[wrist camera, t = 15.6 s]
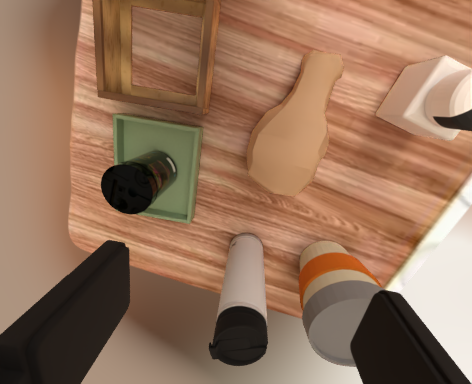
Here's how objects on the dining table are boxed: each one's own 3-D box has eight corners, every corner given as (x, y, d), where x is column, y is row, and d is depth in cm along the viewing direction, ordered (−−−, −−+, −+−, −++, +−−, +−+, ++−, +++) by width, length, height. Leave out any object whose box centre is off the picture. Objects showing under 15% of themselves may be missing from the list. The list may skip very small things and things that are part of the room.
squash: (239, 177, 39) (227, 184, 30) (283, 54, 34) (284, 20, 26) (300, 200, 38) (305, 214, 29) (354, 75, 33) (380, 48, 24)
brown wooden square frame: (115, -18, 31) (89, -41, 26) (221, 0, 30) (215, -20, 26) (117, 98, 36) (97, 96, 31) (209, 114, 36) (202, 114, 31)
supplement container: (131, 162, 38) (89, 180, 29) (162, 141, 37) (129, 153, 27) (155, 194, 40) (124, 222, 30) (186, 176, 39) (163, 199, 29)
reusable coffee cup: (371, 265, 43) (428, 343, 29) (314, 297, 46) (341, 379, 32) (333, 219, 40) (375, 279, 26) (276, 256, 44) (286, 326, 30)
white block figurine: (448, 88, 32) (554, 77, 21) (414, 135, 34) (491, 149, 23) (405, 65, 31) (489, 41, 20) (373, 115, 34) (432, 118, 23)
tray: (122, 113, 36) (112, 113, 34) (203, 127, 36) (199, 128, 34) (124, 204, 42) (115, 210, 40) (194, 216, 42) (190, 224, 39)
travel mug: (225, 235, 43) (201, 333, 24) (259, 230, 42) (263, 328, 23) (232, 262, 45) (215, 373, 26) (265, 258, 44) (273, 370, 25)
